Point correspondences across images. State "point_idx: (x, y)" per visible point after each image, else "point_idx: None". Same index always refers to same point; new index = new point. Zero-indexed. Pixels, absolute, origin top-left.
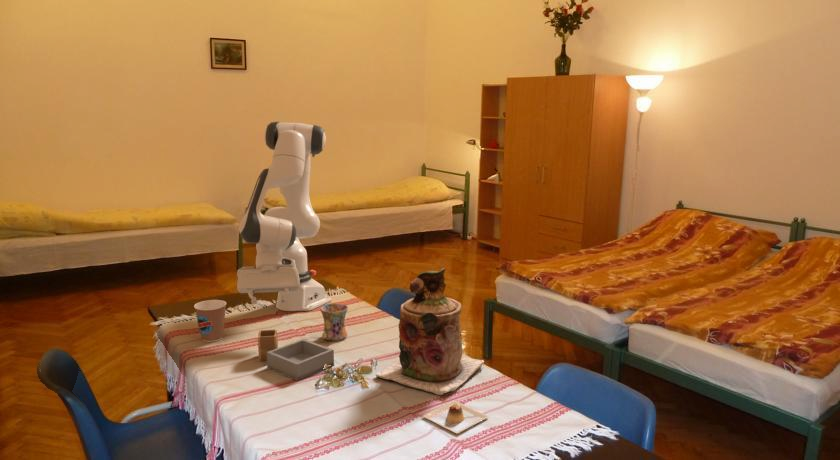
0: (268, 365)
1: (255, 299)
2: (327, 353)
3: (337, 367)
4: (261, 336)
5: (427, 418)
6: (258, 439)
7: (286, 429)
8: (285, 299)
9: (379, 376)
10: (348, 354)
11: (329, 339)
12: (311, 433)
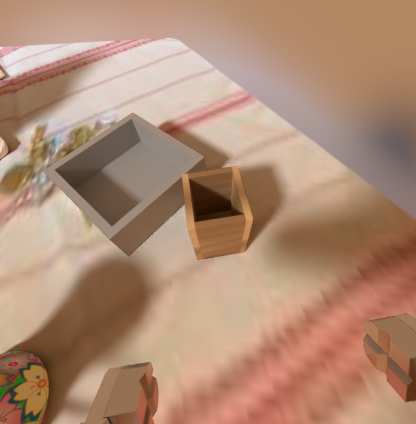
0: None
1: (387, 331)
2: (63, 160)
3: None
4: (227, 172)
5: (2, 72)
6: (181, 47)
7: (154, 58)
8: (108, 370)
9: (3, 139)
10: (17, 251)
11: (31, 353)
12: (129, 55)
